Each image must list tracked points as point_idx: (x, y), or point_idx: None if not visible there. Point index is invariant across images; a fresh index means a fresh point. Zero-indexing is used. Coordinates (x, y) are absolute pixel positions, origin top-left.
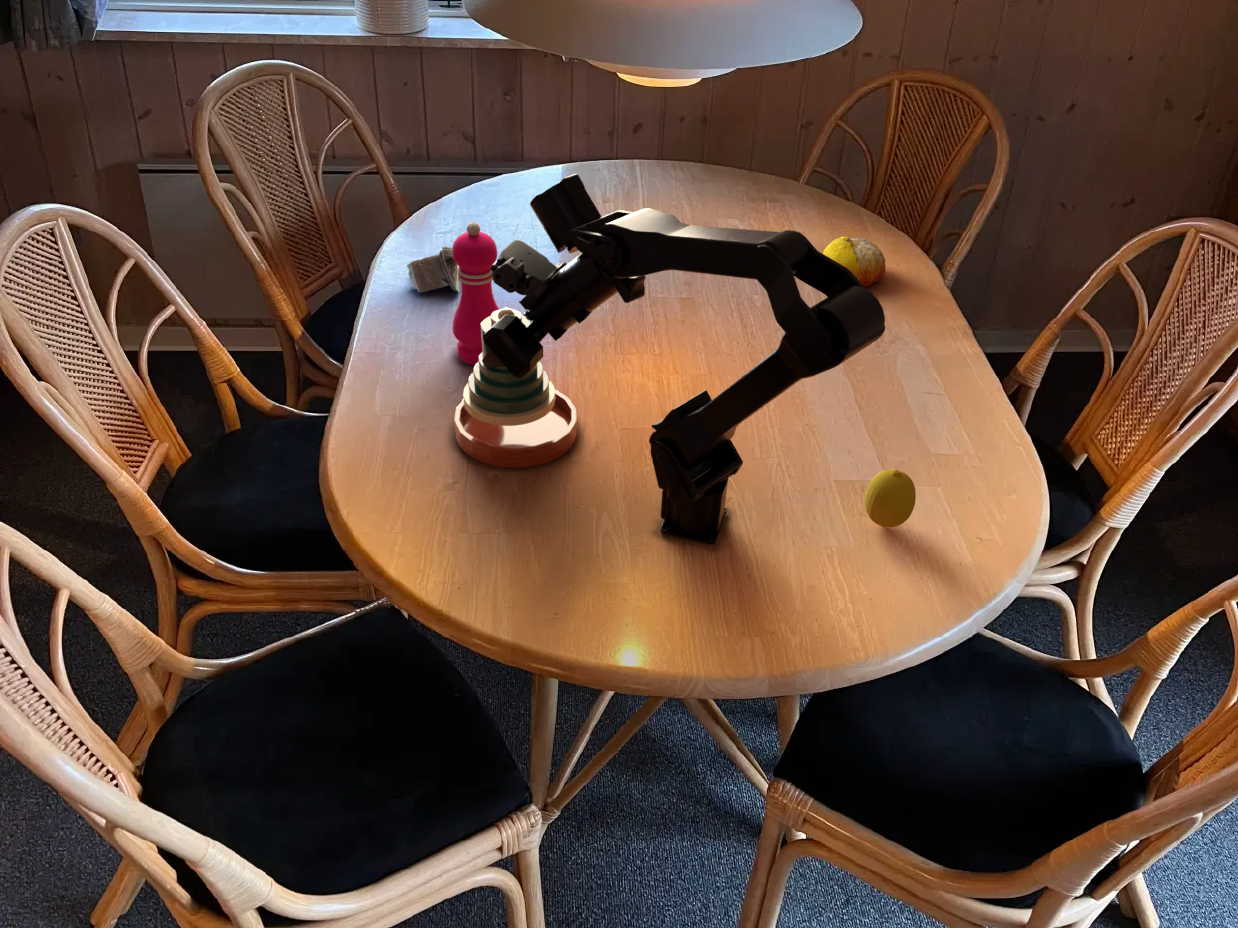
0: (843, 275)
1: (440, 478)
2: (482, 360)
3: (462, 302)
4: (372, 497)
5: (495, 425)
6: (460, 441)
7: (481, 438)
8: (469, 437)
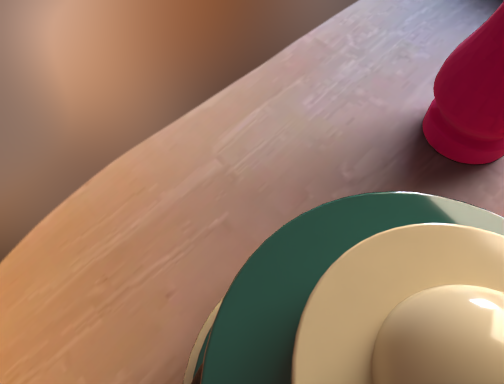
0: None
1: (122, 374)
2: (201, 368)
3: (491, 22)
4: (15, 315)
5: None
6: None
7: None
8: None
